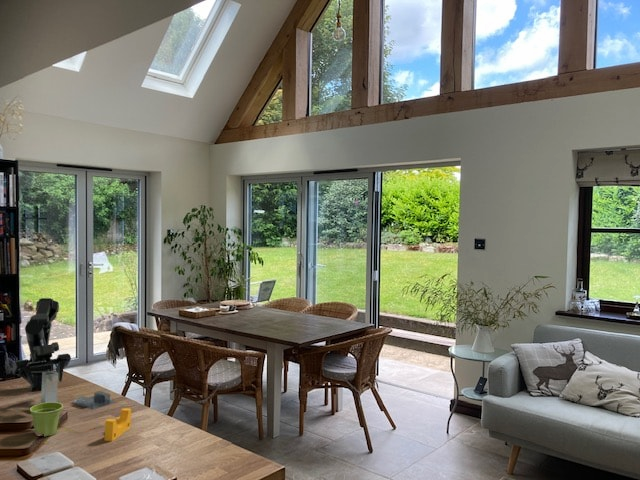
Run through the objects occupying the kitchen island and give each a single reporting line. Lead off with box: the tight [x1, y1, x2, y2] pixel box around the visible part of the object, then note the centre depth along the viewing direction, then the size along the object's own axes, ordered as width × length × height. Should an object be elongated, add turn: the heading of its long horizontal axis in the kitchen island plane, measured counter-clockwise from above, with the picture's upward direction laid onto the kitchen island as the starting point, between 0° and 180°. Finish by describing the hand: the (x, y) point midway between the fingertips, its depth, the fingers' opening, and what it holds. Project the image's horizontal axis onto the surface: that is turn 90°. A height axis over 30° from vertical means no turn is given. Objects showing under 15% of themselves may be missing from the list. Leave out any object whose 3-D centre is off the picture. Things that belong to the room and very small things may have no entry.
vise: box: [71, 390, 116, 411], centre depth 190 cm, size 12×10×4 cm
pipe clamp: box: [104, 407, 132, 442], centre depth 166 cm, size 12×4×6 cm, turn 174°
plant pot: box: [29, 401, 64, 438], centre depth 163 cm, size 9×9×9 cm
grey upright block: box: [40, 370, 59, 404], centre depth 181 cm, size 7×4×13 cm, turn 47°
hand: (47, 383), depth 184 cm, fingers open, 9 cm apart
